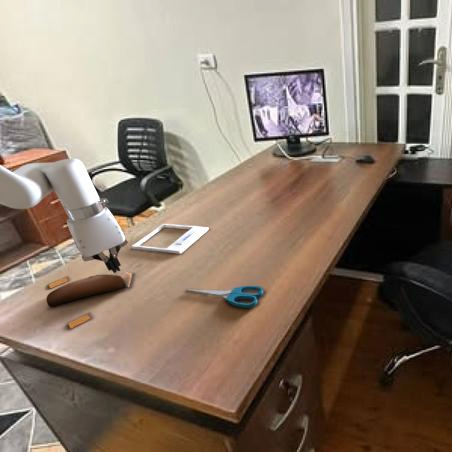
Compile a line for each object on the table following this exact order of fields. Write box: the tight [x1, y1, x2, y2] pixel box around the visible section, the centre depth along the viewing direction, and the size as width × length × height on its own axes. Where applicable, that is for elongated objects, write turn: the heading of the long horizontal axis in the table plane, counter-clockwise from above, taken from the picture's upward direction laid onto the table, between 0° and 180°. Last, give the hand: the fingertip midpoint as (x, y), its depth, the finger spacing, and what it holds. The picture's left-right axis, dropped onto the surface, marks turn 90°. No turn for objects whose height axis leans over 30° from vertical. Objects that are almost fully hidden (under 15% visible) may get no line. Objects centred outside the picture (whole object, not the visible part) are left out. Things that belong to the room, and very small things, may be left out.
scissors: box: [186, 285, 264, 309], centre depth 86 cm, size 7×1×20 cm
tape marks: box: [48, 277, 91, 330], centre depth 89 cm, size 4×25×1 cm, turn 46°
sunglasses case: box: [46, 271, 133, 308], centre depth 91 cm, size 18×7×7 cm
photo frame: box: [131, 223, 210, 254], centre depth 113 cm, size 15×1×18 cm
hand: (115, 270), depth 95 cm, fingers closed
